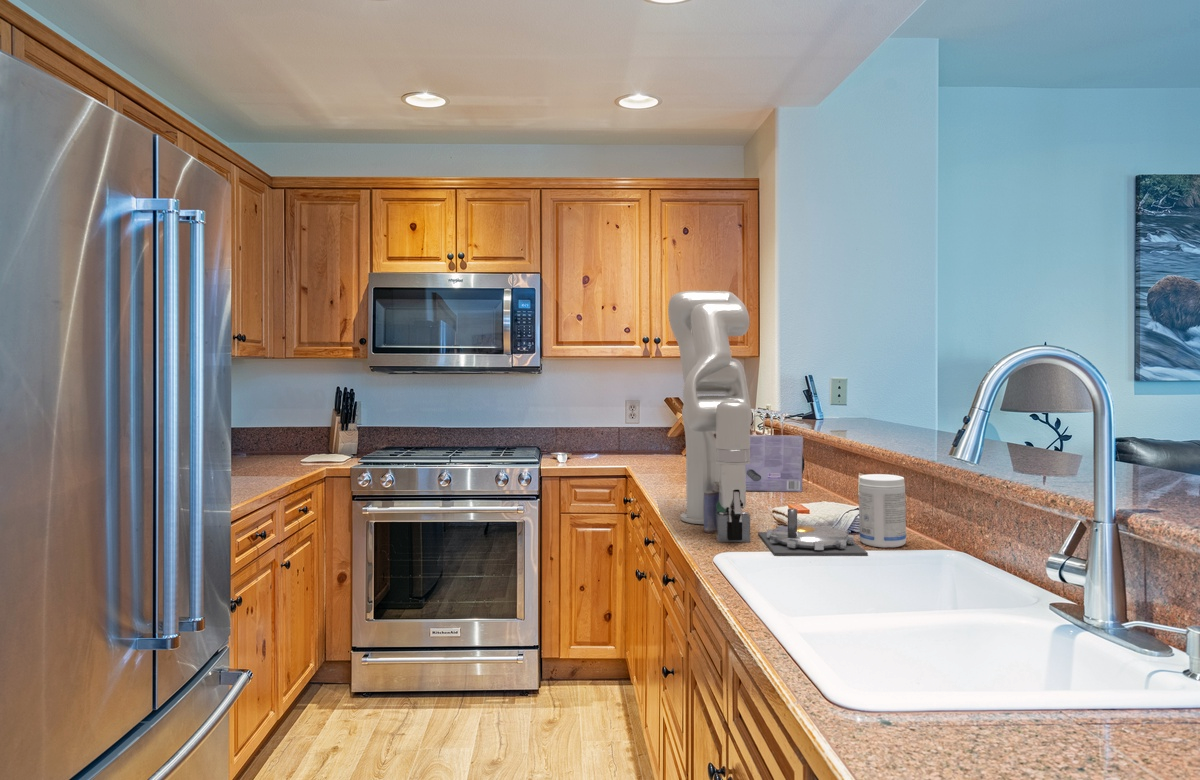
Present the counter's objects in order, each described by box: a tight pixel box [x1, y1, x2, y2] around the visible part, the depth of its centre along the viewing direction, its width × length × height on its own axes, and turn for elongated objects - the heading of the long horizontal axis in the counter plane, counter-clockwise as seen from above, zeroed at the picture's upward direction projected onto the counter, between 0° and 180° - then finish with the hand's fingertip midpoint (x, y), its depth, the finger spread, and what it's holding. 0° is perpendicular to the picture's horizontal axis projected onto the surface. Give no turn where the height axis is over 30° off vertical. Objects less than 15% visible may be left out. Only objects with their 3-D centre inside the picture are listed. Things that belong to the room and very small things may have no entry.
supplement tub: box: [858, 473, 907, 549], centre depth 161 cm, size 10×10×15 cm
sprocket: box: [766, 508, 855, 550], centre depth 160 cm, size 18×18×7 cm
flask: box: [703, 481, 725, 534], centre depth 176 cm, size 10×3×12 cm, turn 133°
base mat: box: [757, 531, 869, 557], centre depth 161 cm, size 19×19×1 cm
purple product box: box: [745, 434, 806, 493], centre depth 230 cm, size 19×5×18 cm, turn 84°
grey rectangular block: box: [716, 511, 751, 543], centre depth 165 cm, size 4×7×6 cm, turn 88°
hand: (733, 537), depth 165 cm, fingers closed on grey rectangular block, 3 cm apart
